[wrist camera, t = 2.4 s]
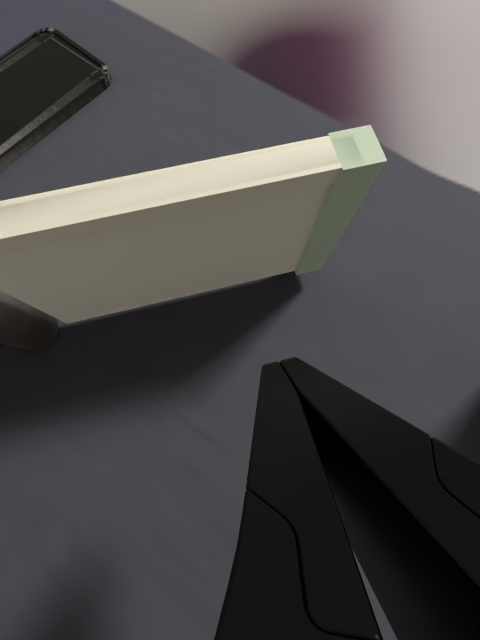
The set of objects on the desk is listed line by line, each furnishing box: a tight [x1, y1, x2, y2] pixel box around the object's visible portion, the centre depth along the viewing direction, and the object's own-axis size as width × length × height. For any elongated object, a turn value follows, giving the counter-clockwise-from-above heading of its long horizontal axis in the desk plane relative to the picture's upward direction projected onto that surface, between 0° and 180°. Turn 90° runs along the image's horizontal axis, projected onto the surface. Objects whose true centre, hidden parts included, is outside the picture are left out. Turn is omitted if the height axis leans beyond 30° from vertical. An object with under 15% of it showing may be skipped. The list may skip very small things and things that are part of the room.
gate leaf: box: [0, 125, 387, 324], centre depth 15 cm, size 15×2×9 cm, turn 104°
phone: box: [0, 28, 112, 172], centre depth 24 cm, size 8×1×15 cm
